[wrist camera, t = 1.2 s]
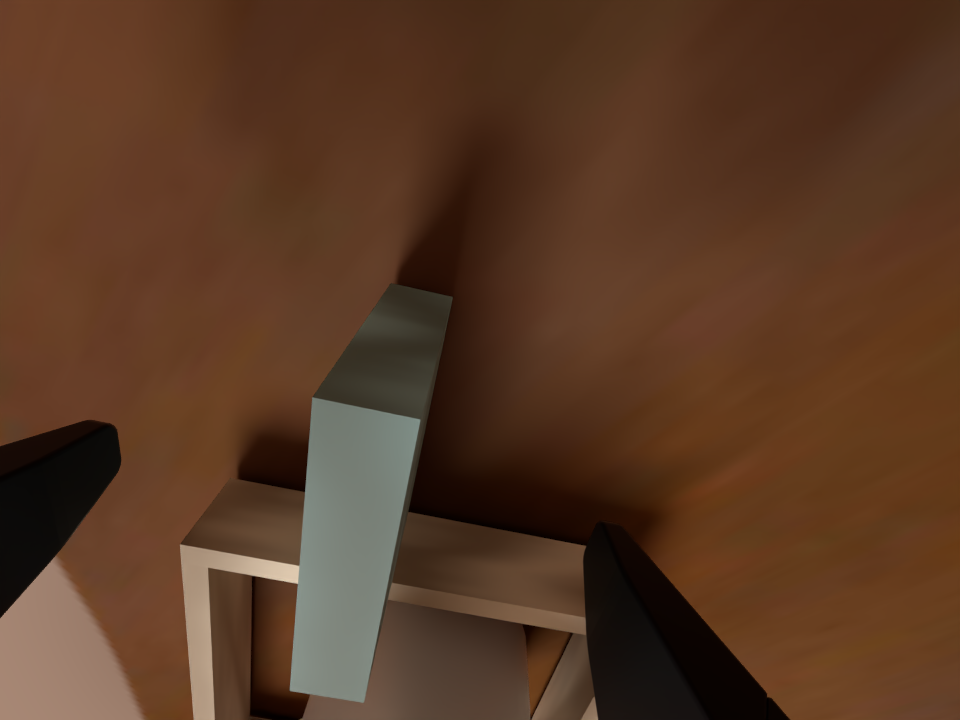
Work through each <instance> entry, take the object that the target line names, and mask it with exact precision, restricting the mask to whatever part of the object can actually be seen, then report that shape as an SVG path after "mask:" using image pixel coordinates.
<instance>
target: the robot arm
mask: <svg viewBox="0 0 960 720" xmlns="http://www.w3.org/2000/svg"><path fill="white" fill-rule="evenodd" d="M120 465H121V454H120V447H119V439H118V432H117V429H116V427H115V426H114V425H112V424H110V423H105V422H100V421H95V420H86V421H82V422H79V423H75V424H72V425H69V426H66V427H62V428H59V429H56V430H52V431H49V432H46V433H42V434H39V435H36V436H33V437H29V438H26V439H23V440H19V441H16V442H13V443H10V444H6V445H3V446H0V618H1V617H2V616H3V615H4V613H5V612H6V611H7V610H8V609H9V608H10V607H11V606H12V604H13V603H14V602H15V601H16V600H17V599H18V598H19V597H20V595H21V594H22V593H23V592H24V591H25V590H26V589H27V587H28V586H29V585H30V584H31V583H32V582H33V581H34V580H35V579H36V577H37V576H38V575H39V574H40V573H41V572H42V570H44V568H45V567H46V566H47V565H48V564H49V563H50V562H51V560H52V559H53V558H54V557H55V556H56V555H57V553H58V552H59V551H60V550H61V549H62V547H63V546H64V545H65V543H66V542H67V541H68V540H69V538H70V537H71V536H72V534H73V533H74V532H75V530H76V529H77V528H78V526H79V525H80V524H81V522H82V521H83V519H84V518H85V517H86V515H87V514H88V513H89V511H90V510H91V508H92V507H93V506H94V504H95V503H96V502H97V500H98V499H99V498H100V496H101V495H102V493H103V492H104V491H105V489H106V488H107V487H108V485H109V484H110V483H111V481H112V480H113V478H114V477H115V476H116V474H117V473H118V471H119V468H120ZM583 576H584V598H585V620H586V638H587V648H588V656H589V663H590V669H591V676H592V683H593V689H594V696H595V703H596V709H597V716H598V720H790V719H789V718H788V717H787V716H786V714H785V713H784V712H783V711H782V710H781V709H780V707H779V706H778V705H777V704H776V703H775V702H774V701H773V699H772V698H769V697H768V698H767V693H766V692H765V690H764V689H763V688H762V687H761V686H760V685H759V683H758V682H757V681H756V680H755V679H754V678H753V676H752V675H751V674H750V673H749V672H748V671H747V670H746V668H745V667H744V666H743V665H742V664H741V663H740V661H739V660H738V659H737V658H736V657H735V656H734V655H733V653H732V652H731V651H730V650H729V649H728V648H727V646H726V645H725V644H724V643H723V642H722V641H721V640H720V638H719V637H718V636H717V635H716V634H715V633H714V631H713V630H712V629H711V628H710V627H709V626H708V624H707V623H706V622H705V621H704V620H703V619H702V618H701V616H700V615H699V614H698V613H697V612H696V611H695V609H694V608H693V607H692V606H691V605H690V604H689V603H688V601H687V600H686V599H685V598H684V597H683V596H682V594H681V593H680V592H679V591H678V590H677V589H676V588H675V586H674V585H673V584H672V583H671V582H670V581H669V579H668V578H667V577H666V576H665V575H664V574H663V573H662V571H661V570H660V569H659V568H658V567H657V566H656V564H655V563H654V562H653V561H652V560H651V559H650V557H649V556H648V555H647V554H646V553H645V552H644V551H643V549H642V548H641V547H640V546H639V545H638V544H637V542H636V541H635V540H634V539H633V538H632V537H631V536H630V534H629V533H628V532H627V531H626V530H625V529H624V527H622V526H621V525H620V524H618V523H613V522H608V521H599V522H598V523H597V524H596V526H595V528H594V530H593V532H592V535H591V537H590V539H589V541H588V544H587V546H586V548H585V551H584V555H583Z"/></svg>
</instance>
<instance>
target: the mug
mask: <svg viewBox="0 0 960 720" xmlns="http://www.w3.org/2000/svg"><path fill="white" fill-rule="evenodd" d="M299 720H531V719H530V701H529V683H528V665H527V647H526V635H525V631H524V628H523V625H522V624H521V623H516V622H510V621H504V620H499V619H493V618H488V617H482V616H476V615H471V614H465V613H460V612H454V611H448V610H443V609H437V608H432V607H426V606H420V605H415V604H409V603H404V602H398V601H392V600H388V602H387V606H386V610H385V614H384V619H383V623H382V627H381V632H380V636H379V640H378V645H377V649H376V653H375V658H374V662H373V666H372V670H371V675H370V679H369V683H368V688H367V692H366V696H365V701H364V703H361V702H355V701H349V700H343V699H337V698H330V697H324V696H318V695H312V694H310V697H309V700H308V703H307V706H306V709H305V712H304V715H303V718H301V719H299Z"/></svg>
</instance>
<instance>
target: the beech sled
mask: <svg viewBox="0 0 960 720" xmlns="http://www.w3.org/2000/svg"><path fill="white" fill-rule="evenodd" d="M452 299H453V297H451V296H446V295H442V294H437V293H433V292H428V291H424V290H419V289H415V288H410V287H406V286H401V285H397V284H392V283H391V284H390V285H389V287H388V288H387V290H386V291H385V293H384V294H383V296H382V297H381V299H380V300H379V301H378V303H377V304H376V306H375V307H374V309H373V310H372V312H371V313H370V315H369V316H368V317H367V319H366V320H365V322H364V323H363V325H362V326H361V328H360V329H359V330H358V332H357V333H356V335H355V336H354V338H353V339H352V341H351V342H350V344H349V345H348V346H347V348H346V349H345V351H344V352H343V354H342V355H341V357H340V358H339V360H338V361H337V362H336V364H335V365H334V367H333V368H332V370H331V371H330V373H329V374H328V376H327V377H326V378H325V380H324V381H323V383H322V384H321V386H320V387H319V389H318V390H317V392H316V393H315V394H314V396H313V397H312V410H311V423H310V436H309V449H308V462H307V474H306V487H305V492H302V491H296V490H291V489H286V488H281V487H275V486H270V485H265V484H260V483H255V482H249V481H244V480H239V479H234V478H230V480H229V481H228V482H227V483H226V485H225V486H224V487H223V489H222V490H221V491H220V493H219V494H218V495H217V497H216V498H215V499H214V500H213V502H212V503H211V504H210V506H209V507H208V508H207V510H206V511H205V512H204V514H203V515H202V516H201V518H200V519H199V520H198V521H197V523H196V524H195V525H194V527H193V528H192V529H191V531H190V532H189V533H188V535H187V536H186V537H185V538H184V540H183V541H182V542H181V544H180V551H181V564H182V576H183V589H184V602H185V614H186V627H187V639H188V652H189V665H190V677H191V690H192V702H193V715H194V720H270V719H264V718H257V717H251V716H250V681H251V613H252V576H258V577H263V578H269V579H275V580H280V581H286V582H292V583H297V584H298V590H297V603H296V616H295V629H294V642H293V655H292V668H291V681H290V691H294V692H300V693H306V694H312V695H318V696H324V697H330V698H337V699H343V700H349V701H355V702H361V703H364V701H365V696H366V692H367V688H368V683H369V679H370V675H371V670H372V666H373V662H374V658H375V653H376V649H377V645H378V640H379V636H380V632H381V627H382V623H383V619H384V614H385V610H386V606H387V602H388V600H392V601H398V602H404V603H409V604H415V605H420V606H426V607H432V608H437V609H443V610H448V611H454V612H460V613H465V614H471V615H476V616H482V617H488V618H493V619H499V620H504V621H510V622H516V623H521V624H527V625H532V626H538V627H544V628H549V629H555V630H560V631H566V632H572V633H573V635H572V637H571V639H570V641H569V643H568V645H567V647H566V649H565V651H564V653H563V655H562V658H561V660H560V662H559V664H558V666H557V668H556V670H555V672H554V674H553V676H552V678H551V680H550V682H549V684H548V686H547V688H546V690H545V693H544V695H543V697H542V699H541V701H540V703H539V705H538V707H537V709H536V711H535V713H534V715H533V717H532V719H531V720H598V716H597V709H596V703H595V696H594V689H593V683H592V676H591V669H590V663H589V656H588V648H587V638H586V620H585V598H584V576H583V555H584V551H585V548H586V546H583V545H578V544H573V543H568V542H563V541H557V540H552V539H547V538H542V537H536V536H531V535H526V534H521V533H516V532H510V531H505V530H500V529H495V528H489V527H484V526H479V525H474V524H469V523H463V522H458V521H453V520H448V519H442V518H437V517H432V516H427V515H422V514H416V513H411V512H408V511H409V506H410V501H411V497H412V492H413V487H414V482H415V477H416V472H417V468H418V463H419V458H420V453H421V448H422V444H423V439H424V434H425V429H426V424H427V419H428V415H429V410H430V405H431V400H432V395H433V391H434V386H435V381H436V376H437V371H438V366H439V362H440V357H441V352H442V347H443V342H444V338H445V333H446V328H447V323H448V318H449V314H450V309H451V304H452Z"/></svg>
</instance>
